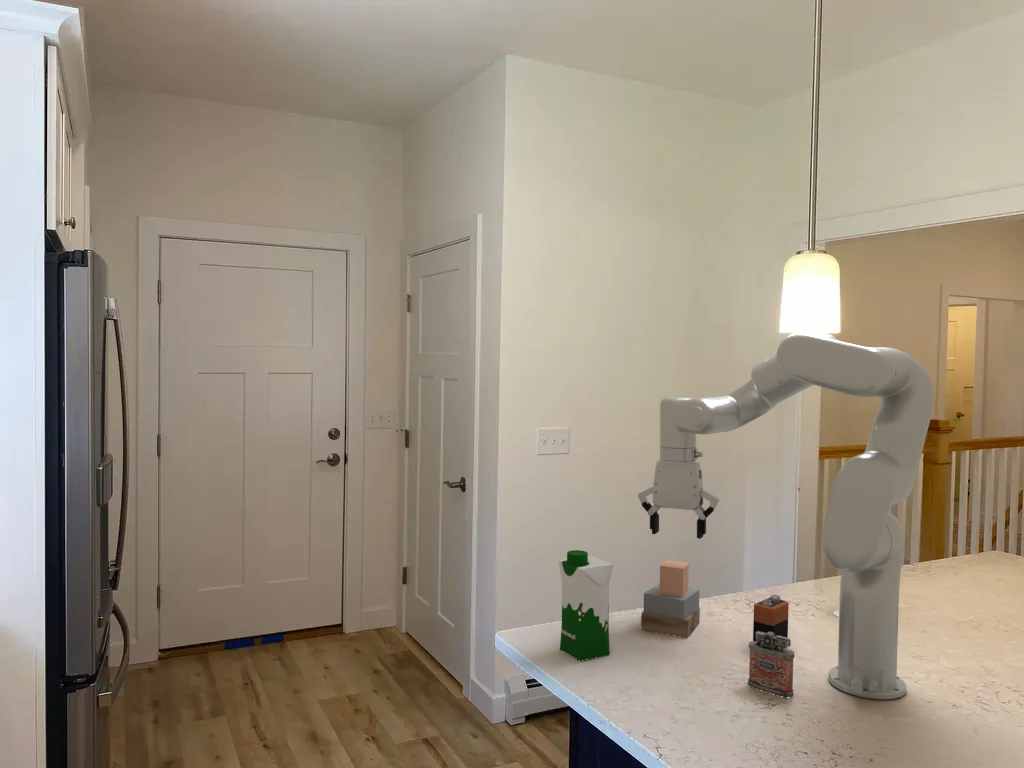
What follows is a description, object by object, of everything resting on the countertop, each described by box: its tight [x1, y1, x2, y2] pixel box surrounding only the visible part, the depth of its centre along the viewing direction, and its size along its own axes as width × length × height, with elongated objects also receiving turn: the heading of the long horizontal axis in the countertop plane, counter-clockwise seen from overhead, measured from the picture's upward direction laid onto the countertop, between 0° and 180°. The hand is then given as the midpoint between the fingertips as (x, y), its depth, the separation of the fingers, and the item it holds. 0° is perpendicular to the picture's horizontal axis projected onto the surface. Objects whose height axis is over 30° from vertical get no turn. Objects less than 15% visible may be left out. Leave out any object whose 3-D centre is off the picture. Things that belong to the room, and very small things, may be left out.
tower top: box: [643, 583, 700, 620], centre depth 168 cm, size 9×9×4 cm
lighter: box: [747, 631, 796, 698], centre depth 137 cm, size 8×3×10 cm, turn 47°
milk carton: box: [558, 549, 614, 662], centre depth 153 cm, size 9×9×20 cm
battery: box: [752, 594, 790, 648], centre depth 157 cm, size 4×7×10 cm, turn 134°
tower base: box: [640, 606, 701, 639], centre depth 168 cm, size 10×10×4 cm
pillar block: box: [659, 559, 690, 597], centre depth 167 cm, size 5×5×6 cm
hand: (677, 535), depth 167 cm, fingers open, 9 cm apart
